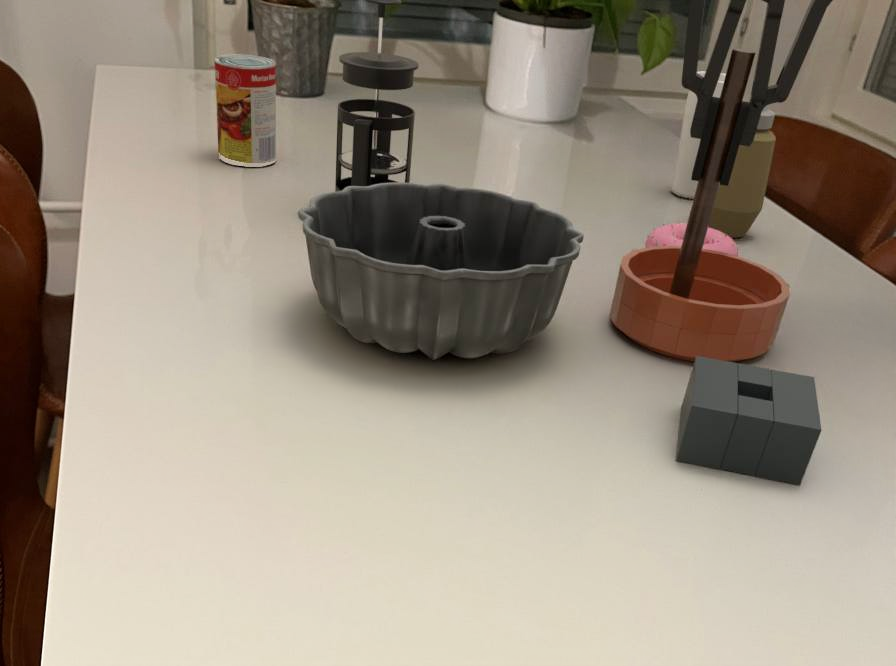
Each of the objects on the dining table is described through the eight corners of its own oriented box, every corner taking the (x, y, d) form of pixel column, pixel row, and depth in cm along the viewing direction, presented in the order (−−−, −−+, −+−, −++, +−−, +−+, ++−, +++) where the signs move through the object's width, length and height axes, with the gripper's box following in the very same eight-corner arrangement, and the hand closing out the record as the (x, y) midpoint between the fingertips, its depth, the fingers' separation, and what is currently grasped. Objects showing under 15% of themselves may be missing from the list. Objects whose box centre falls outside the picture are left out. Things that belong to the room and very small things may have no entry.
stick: (688, 297, 100) (755, 50, 86) (687, 304, 99) (756, 53, 85) (668, 293, 101) (732, 46, 86) (667, 300, 99) (732, 50, 85)
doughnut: (745, 269, 118) (756, 233, 116) (714, 293, 111) (724, 256, 108) (661, 245, 122) (670, 210, 120) (626, 267, 115) (634, 230, 112)
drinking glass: (662, 196, 139) (690, 76, 129) (668, 184, 144) (695, 68, 134) (710, 205, 138) (742, 85, 128) (714, 193, 143) (745, 76, 133)
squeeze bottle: (686, 218, 132) (725, 66, 120) (746, 224, 132) (790, 73, 121) (697, 238, 126) (739, 80, 114) (759, 245, 126) (807, 87, 114)
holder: (794, 429, 87) (814, 376, 83) (800, 485, 79) (821, 429, 76) (680, 408, 88) (696, 355, 85) (675, 460, 80) (691, 405, 77)
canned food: (239, 148, 140) (236, 51, 132) (287, 159, 137) (287, 61, 130) (206, 159, 134) (202, 59, 126) (255, 171, 132) (254, 69, 124)
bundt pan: (267, 282, 102) (266, 180, 96) (496, 270, 111) (509, 175, 104) (346, 397, 84) (351, 280, 78) (612, 372, 93) (637, 265, 86)
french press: (346, 197, 126) (354, -16, 111) (417, 209, 125) (435, -5, 110) (318, 224, 117) (323, -3, 103) (394, 237, 116) (410, 9, 101)
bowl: (768, 318, 107) (786, 262, 103) (772, 381, 94) (793, 320, 90) (616, 291, 109) (628, 235, 105) (600, 349, 96) (613, 288, 93)
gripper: (696, -151, 75) (627, 176, 90) (898, -127, 73) (792, 203, 88) (699, -151, 81) (633, 156, 96) (887, -129, 79) (789, 182, 94)
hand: (709, 178), depth 92 cm, fingers closed on stick, 2 cm apart
